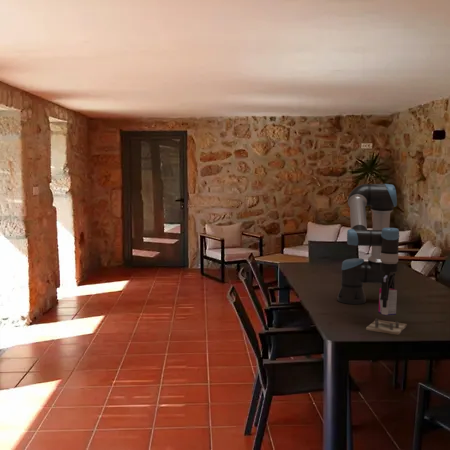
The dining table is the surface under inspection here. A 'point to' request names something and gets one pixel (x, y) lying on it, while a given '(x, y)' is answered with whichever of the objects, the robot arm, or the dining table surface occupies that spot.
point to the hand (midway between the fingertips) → (387, 312)
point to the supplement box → (391, 304)
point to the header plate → (386, 327)
